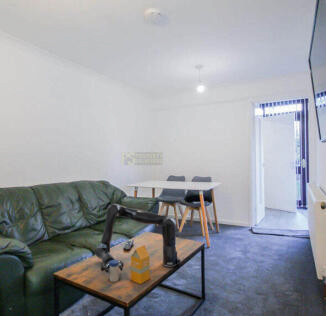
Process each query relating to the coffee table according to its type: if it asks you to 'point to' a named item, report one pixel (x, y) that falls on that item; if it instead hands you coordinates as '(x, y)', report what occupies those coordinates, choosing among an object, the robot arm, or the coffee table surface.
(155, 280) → the coffee table surface
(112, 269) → the jar
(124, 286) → the coffee table surface
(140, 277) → the orange juice
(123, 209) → the robot arm
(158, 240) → the coffee table surface
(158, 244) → the coffee table surface
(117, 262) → the lid
